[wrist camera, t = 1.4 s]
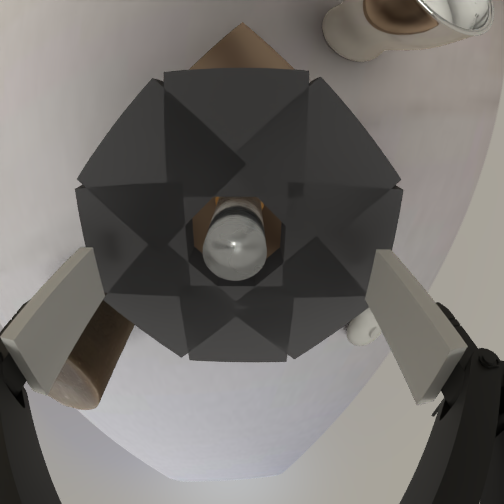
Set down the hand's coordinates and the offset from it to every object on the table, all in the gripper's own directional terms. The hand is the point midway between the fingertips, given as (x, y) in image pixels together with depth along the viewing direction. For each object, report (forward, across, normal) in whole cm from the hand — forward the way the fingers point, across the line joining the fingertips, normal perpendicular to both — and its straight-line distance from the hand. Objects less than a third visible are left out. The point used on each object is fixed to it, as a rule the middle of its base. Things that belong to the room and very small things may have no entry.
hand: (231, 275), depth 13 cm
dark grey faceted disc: (+5, 0, 0) cm, 5 cm away
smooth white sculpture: (+15, +15, -14) cm, 25 cm away
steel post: (+13, 0, 0) cm, 13 cm away
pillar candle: (+15, -16, -12) cm, 25 cm away
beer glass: (+15, +10, +16) cm, 24 cm away
